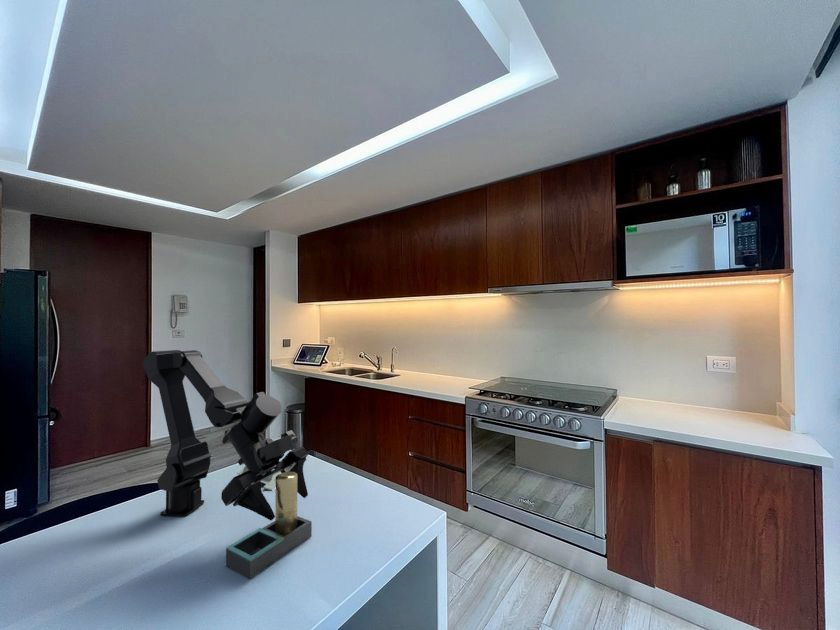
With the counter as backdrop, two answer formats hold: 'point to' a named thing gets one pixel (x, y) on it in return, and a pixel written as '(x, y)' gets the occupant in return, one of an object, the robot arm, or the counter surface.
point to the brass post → (286, 503)
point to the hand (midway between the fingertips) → (290, 507)
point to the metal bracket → (268, 481)
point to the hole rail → (265, 548)
